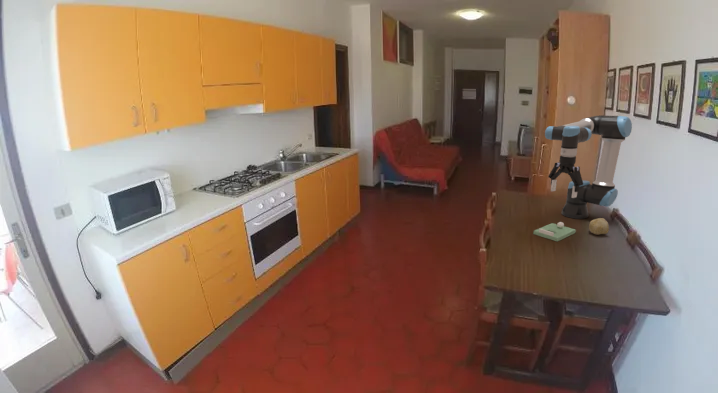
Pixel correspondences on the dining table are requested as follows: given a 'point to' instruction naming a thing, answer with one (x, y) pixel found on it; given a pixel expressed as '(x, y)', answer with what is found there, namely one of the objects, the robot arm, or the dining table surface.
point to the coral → (599, 226)
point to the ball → (560, 224)
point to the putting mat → (554, 232)
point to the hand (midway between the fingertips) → (563, 194)
